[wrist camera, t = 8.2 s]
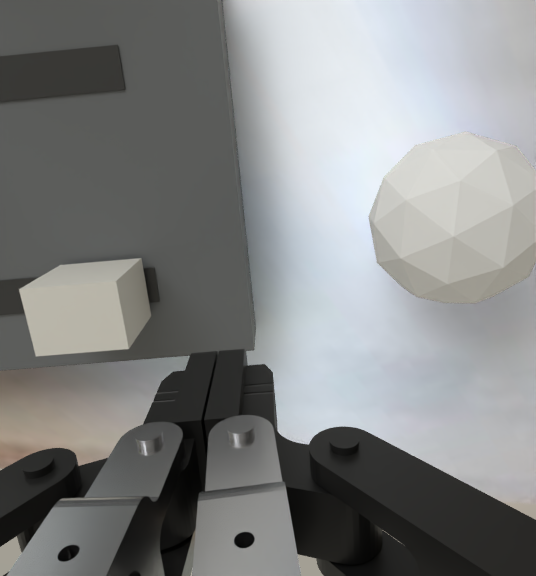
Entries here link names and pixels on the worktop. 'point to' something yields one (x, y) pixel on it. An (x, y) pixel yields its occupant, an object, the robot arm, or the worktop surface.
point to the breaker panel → (123, 168)
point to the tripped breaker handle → (87, 307)
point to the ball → (457, 219)
